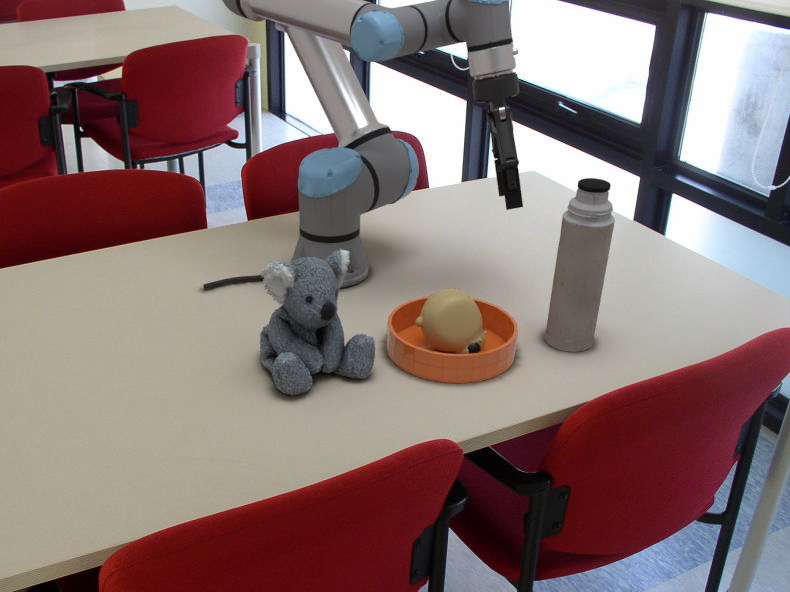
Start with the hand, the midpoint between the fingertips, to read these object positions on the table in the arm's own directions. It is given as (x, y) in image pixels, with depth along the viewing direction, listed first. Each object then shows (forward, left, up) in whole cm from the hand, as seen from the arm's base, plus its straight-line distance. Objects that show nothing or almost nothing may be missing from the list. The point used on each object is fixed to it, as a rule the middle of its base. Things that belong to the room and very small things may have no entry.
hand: (510, 201), depth 157 cm
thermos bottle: (+11, -14, -20) cm, 26 cm away
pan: (-9, -20, -19) cm, 29 cm away
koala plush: (-32, -28, -20) cm, 46 cm away
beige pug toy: (-9, -20, -19) cm, 29 cm away
